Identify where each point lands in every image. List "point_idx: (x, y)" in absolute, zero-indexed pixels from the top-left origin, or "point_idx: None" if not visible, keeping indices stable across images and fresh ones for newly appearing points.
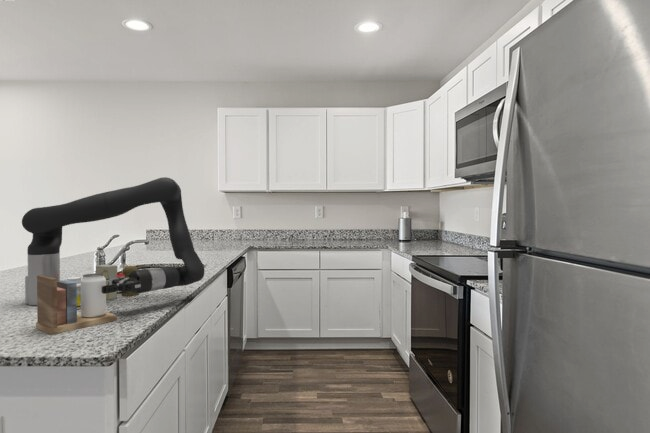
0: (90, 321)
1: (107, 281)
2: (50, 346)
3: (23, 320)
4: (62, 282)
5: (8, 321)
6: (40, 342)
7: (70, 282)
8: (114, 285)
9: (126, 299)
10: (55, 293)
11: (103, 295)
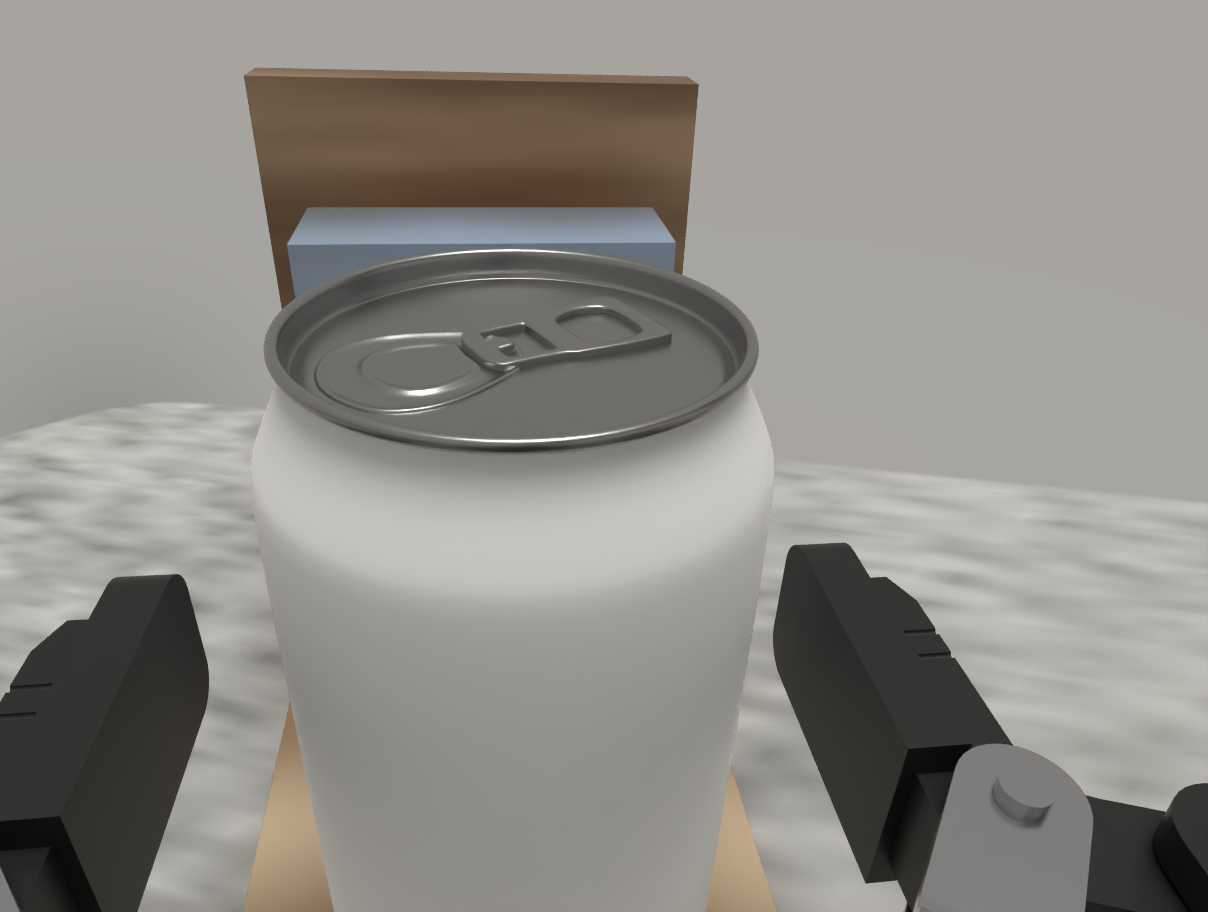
0: (269, 807)
1: (918, 899)
2: (43, 516)
3: (985, 542)
4: (483, 210)
5: (1000, 492)
6: (209, 504)
7: (393, 231)
8: (4, 809)
9: None
10: (273, 245)
11: (315, 791)
